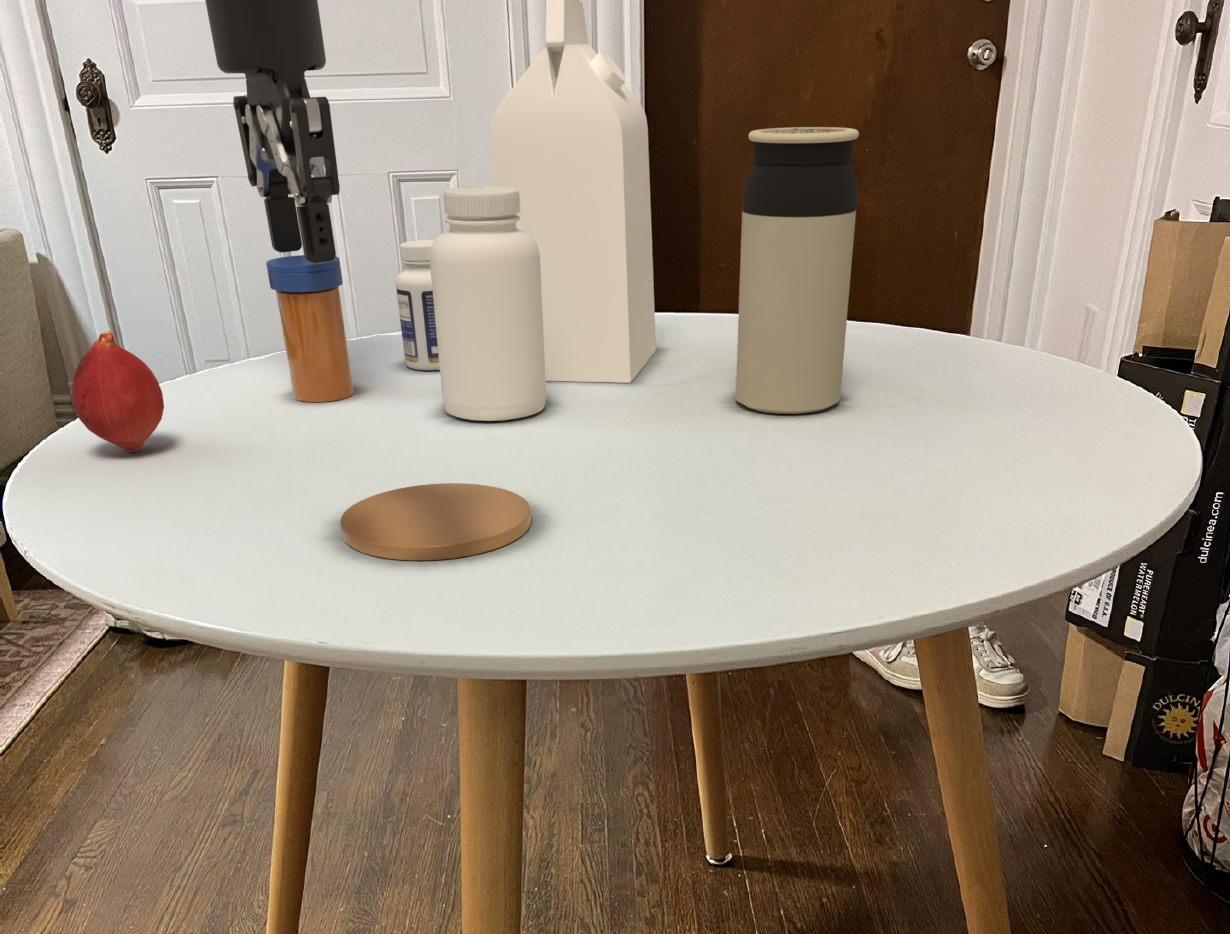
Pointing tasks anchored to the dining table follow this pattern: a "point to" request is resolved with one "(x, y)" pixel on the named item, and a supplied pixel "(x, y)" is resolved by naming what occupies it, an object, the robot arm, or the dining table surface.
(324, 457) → the dining table surface
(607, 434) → the dining table surface
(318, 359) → the jar
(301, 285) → the lid
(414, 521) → the coaster
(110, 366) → the onion
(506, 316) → the pill bottle
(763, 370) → the travel mug
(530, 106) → the milk
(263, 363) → the dining table surface
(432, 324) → the pill bottle
